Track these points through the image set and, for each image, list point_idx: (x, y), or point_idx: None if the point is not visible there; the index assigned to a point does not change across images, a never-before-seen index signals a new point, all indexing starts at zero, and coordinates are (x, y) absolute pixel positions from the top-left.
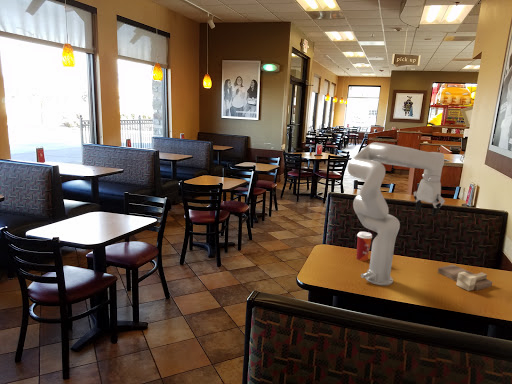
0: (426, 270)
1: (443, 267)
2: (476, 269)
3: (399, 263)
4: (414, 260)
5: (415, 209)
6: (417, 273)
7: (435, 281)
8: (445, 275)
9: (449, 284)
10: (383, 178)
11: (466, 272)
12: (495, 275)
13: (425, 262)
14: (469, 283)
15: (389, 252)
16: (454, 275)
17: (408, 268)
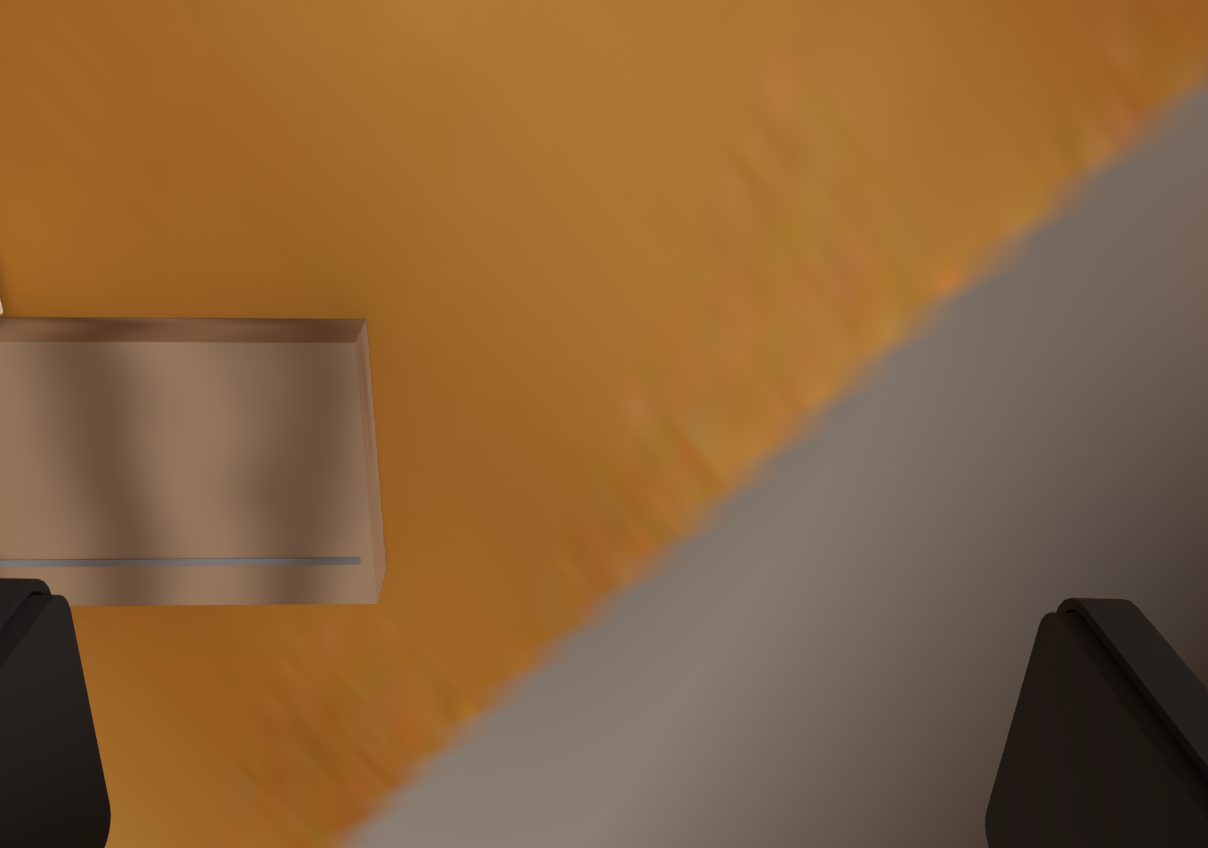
0: (464, 229)
1: (342, 415)
2: (295, 789)
3: (792, 47)
4: (764, 351)
5: (1117, 608)
6: (432, 9)
7: (147, 34)
8: (247, 321)
9: (27, 145)
10: None
11: (136, 551)
12: (123, 830)
13: (655, 434)
14: None
15: None
16: (103, 339)
17: (609, 28)
